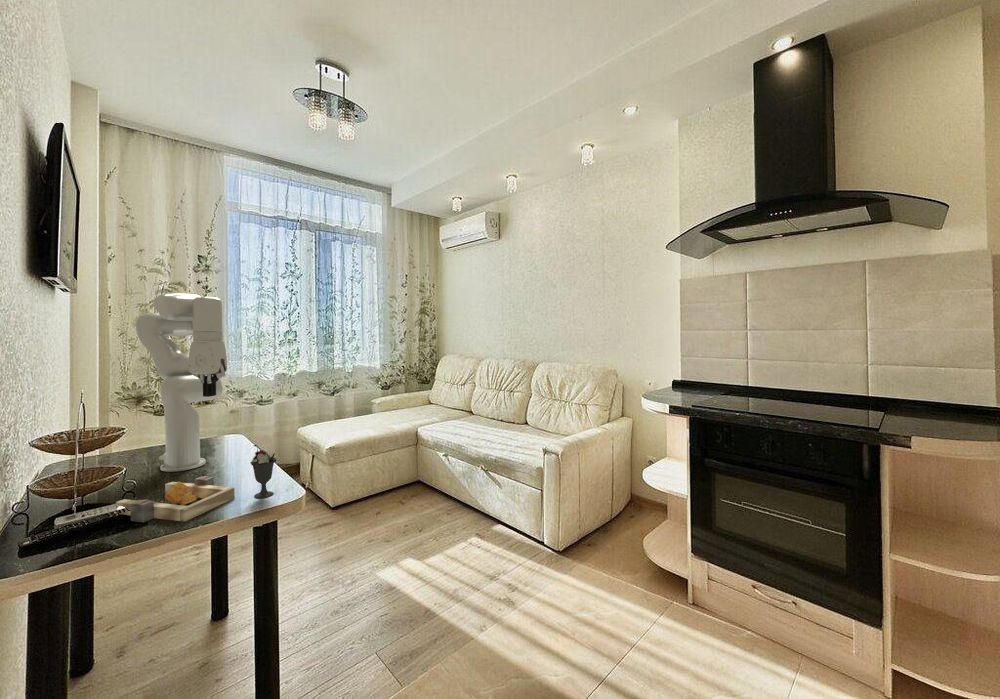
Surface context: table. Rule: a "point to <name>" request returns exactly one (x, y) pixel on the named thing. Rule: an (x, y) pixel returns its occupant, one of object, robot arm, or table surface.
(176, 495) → the pyrite
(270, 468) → the sundae
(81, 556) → the table surface
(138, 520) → the light wooden frame
